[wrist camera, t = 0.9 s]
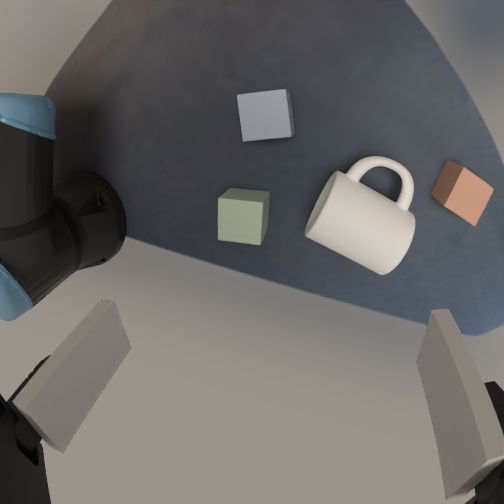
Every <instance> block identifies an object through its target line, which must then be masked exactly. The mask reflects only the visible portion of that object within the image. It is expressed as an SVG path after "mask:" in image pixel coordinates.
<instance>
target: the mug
mask: <svg viewBox="0 0 504 504" xmlns="http://www.w3.org/2000/svg"><path fill="white" fill-rule="evenodd" d="M376 166H384V167H387V168H390V169H392V170H394V171H395V172H397V173H398V174H399V175H400V177H401V179H402V189H401V193H400V196H399V198H398V200H397V202H393V201H392V200H390V199H388V198H387V197H385V196H383V195H381V194H380V193H378V192H376V191H375V190H373V189H371V188H369V187H367V186H366V185H364V184H362V183H360V182H359V179H360V178H361V177H362V176H363V175H364V173H366V172H367V171H368V170H369V169H371V168H373V167H376ZM413 193H414V183H413V179H412V176H411V174H410V173H409V171H408V170H407V169H406V168H405V167H404V166H403V165H401V164H400V163H398V162H396V161H394V160H392V159H389V158H386V157H380V156H371V157H366V158H363V159H361V160H359V161H358V162H356V163H355V164H354V165H353V166H352V167H351V168H350V169H349V170H348V172H347V173H346V174H344V173H342V172H340V171H335V172H334V173H333V174H332V176H331V177H330V178H329V180H328V182H327V183H326V185H325V187H324V188H323V190H322V192H321V194H320V196H319V198H318V200H317V202H316V204H315V206H314V208H313V210H312V213H311V215H310V217H309V220H308V223H307V225H306V229H305V236H306V237H308V238H310V239H312V240H314V241H316V242H318V243H320V244H322V245H324V246H326V247H328V248H330V249H332V250H334V251H336V252H338V253H340V254H342V255H343V256H345V257H347V258H349V259H351V260H353V261H355V262H357V263H359V264H361V265H363V266H365V267H367V268H368V269H370V270H372V271H374V272H376V273H378V274H380V275H384V274H387V273H389V272H391V271H392V270H393V269H394V268H395V267H396V266H397V265H398V264H399V263H400V261H401V260H402V259H403V257H404V256H405V254H406V252H407V250H408V248H409V246H410V244H411V241H412V238H413V235H414V231H415V218H414V215H413V214H412V213H411V212H410V211H408V208H409V206H410V203H411V201H412V197H413Z"/></svg>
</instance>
